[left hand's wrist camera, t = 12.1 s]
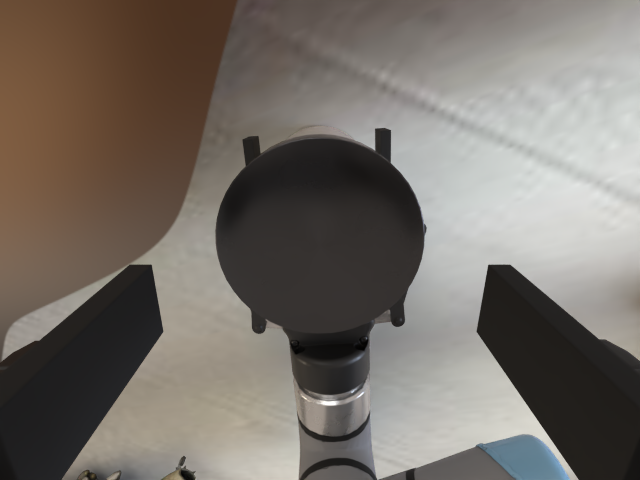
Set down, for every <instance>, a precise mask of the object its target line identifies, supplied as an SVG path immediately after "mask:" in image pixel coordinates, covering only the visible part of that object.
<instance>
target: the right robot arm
mask: <svg viewBox="0 0 640 480" xmlns="http://www.w3.org/2000/svg"><path fill="white" fill-rule="evenodd" d="M243 147H244V155H245V163H246V166H247V165H248V164H249V163H250V162H251V161H253V160H254V159H255V158H256V157H257V156H259V155H260V145H259V137H258V136H252V137H247V138H245V139H243ZM375 151H376V152H377V153H379V154H380V155H381V156H383V157H384V158H385V159H386V160H388V161H389V162H390V163H391V130H389V129H386V128H378V129H375ZM424 232H425V233H426V225H425V224H424ZM407 291H408V289H407ZM407 291H406V292H405V293H404V294H403V296H402V297H401V298H400V299H399V300H398V301H397V302H396V303H395V304H394V305H393V306H392V307H391V308H390V309H389V310H388V311H386V312H385V313H383V314H382V315H380V316H379V317H378V318H376V319H374V320H372V321H370V322H368V323H366V324H364V325H361V326H359V327H356V328H353V329H350V330H346V331H341V332H335V333H323V334H316V333H305V332H299V331H294V330H290V329H287V328H284V327H281V326H279V325H276V324H274V323H272V322H270V321H268V320H266V319H264V318H263V317H261V316H259V315H258V314H257V313H255V312H254V311H253V310H251V312H252V329H253V331H254V332H255V333H258V334H261V333H263V332H264V331H265V328H283V331H284V332H285V333H286V334H287V336H288V338H289V343H290V352H291V362H292V371H293V375H294V390H295V398H296V406H297V415H298V421H299V435H300V466H299V480H377V478H376V473H375V467H374V460H373V454H372V445H371V429H370V374H369V369H370V356H369V334H370V331H371V329H372V328H373V326H374V324H376V323H383V322H392V324H393V325H394V326H396V327H399V326H402V325H403V324H404V322H405V316H404V305H403V303H404V300H405V297H406V294H407ZM379 480H570V479H569V477H568V475H567V474H566V472H565V470H564V469H563V467H562V466H561V464H560V463H559V461H558V460H557V458H556V457H555V455H554V454H553V453H552V451H551V450H550V449H549V448H548V447H547V446H546V444H544V443H543V442H542V441H541V440H540V439H538V438H536V437H534V436H532V435H518V436H514V437H511V438H507V439H503V440H499V441H495V442H491V443H487V444H481V443H480V444H478V445H476V447H474V448H471V449H468V450H466V451H463V452H460V453H457V454H455V455H452V456H449V457H446V458H444V459H441V460H438V461H435V462H432V463H430V464H427V465H424V466H421V467H419V468H413V469H410V470H407V471H404V472H401V473H398V474H395V475H392V476H389V477H385V478H382V479H379Z"/></svg>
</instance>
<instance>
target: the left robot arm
mask: <svg viewBox="0 0 640 480" xmlns="http://www.w3.org/2000/svg"><path fill="white" fill-rule="evenodd" d="M162 333H163V327H162V321H161V316H160V310H159V304H158V298H157V293H156V287H155V281H154V276H153V270H152V265H129V266H128V267H127V268H125V269H124V270H123V271H122V272H121V273H119V274H118V275H117V276H116V277H115V278H113V279H112V280H111V281H110V282H109V283H107V284H106V285H105V286H104V287H103V288H102V289H100V290H99V291H98V292H97V293H96V294H94V295H93V296H92V297H91V298H90V299H88V300H87V301H86V302H85V303H84V304H83V305H81V306H80V307H79V308H78V309H77V310H75V311H74V312H73V313H72V314H71V315H69V316H68V317H67V318H66V319H65V320H63V321H62V322H61V323H60V324H59V325H58V326H56V327H55V328H54V329H53V330H52V331H50V332H49V333H48V334H47V335H46V336H44V337H43V338H42V339H41V340H40V341H34V342H32V343H30V344H28V345H27V346H25V347H23V348H21V349H19V350H17V351H15V352H13V353H12V354H11V355H9V356H8V357H7V358H6V359H5V360H3V361H2V362H1V363H0V480H61V479H62V478H63V476H64V475H65V473H66V472H67V470H68V469H69V468H70V466H71V465H72V463H73V462H74V460H75V459H76V457H77V456H78V455H79V453H80V452H81V450H82V449H83V447H84V446H85V444H86V443H87V442H88V440H89V439H90V437H91V436H92V434H93V433H94V431H95V430H96V428H97V427H98V426H99V424H100V423H101V421H102V420H103V418H104V417H105V415H106V414H107V413H108V411H109V410H110V408H111V407H112V405H113V404H114V402H115V401H116V400H117V398H118V397H119V395H120V394H121V392H122V391H123V389H124V388H125V386H126V385H127V384H128V382H129V381H130V379H131V378H132V376H133V375H134V373H135V372H136V371H137V369H138V368H139V366H140V365H141V363H142V362H143V360H144V359H145V357H146V356H147V355H148V353H149V352H150V350H151V349H152V347H153V346H154V344H155V343H156V342H157V340H158V339H159V337H160V336H161V334H162ZM477 333H478V334H479V336H480V337H481V339H482V340H483V342H484V343H485V344H486V346H487V347H488V349H489V350H490V352H491V353H492V355H493V356H494V357H495V359H496V360H497V362H498V363H499V365H500V366H501V368H502V369H503V371H504V372H505V373H506V375H507V376H508V378H509V379H510V381H511V382H512V384H513V385H514V386H515V388H516V389H517V391H518V392H519V394H520V395H521V397H522V398H523V400H524V401H525V402H526V404H527V405H528V407H529V408H530V410H531V411H532V413H533V414H534V415H535V417H536V418H537V420H538V421H539V423H540V424H541V426H542V427H543V428H544V430H545V431H546V433H547V434H548V436H549V437H550V439H551V440H552V442H553V443H554V444H555V446H556V447H557V449H558V450H559V452H560V453H561V455H562V456H563V457H564V459H565V460H566V462H567V463H568V465H569V466H570V468H571V469H572V470H573V472H574V473H575V475H576V476H577V478H578V479H579V480H640V361H639V360H638V359H636V358H635V357H634V356H633V355H631V354H630V353H629V352H628V351H626V350H624V349H622V348H620V347H618V346H616V345H614V344H613V343H611V342H609V341H607V340H599V339H598V338H597V337H596V336H594V335H593V334H592V333H591V332H590V331H588V330H587V329H586V328H585V327H584V326H582V325H581V324H580V323H579V322H578V321H577V320H575V319H574V318H573V317H572V316H571V315H569V314H568V313H567V312H566V311H565V310H563V309H562V308H561V307H560V306H559V305H557V304H556V303H555V302H554V301H553V300H552V299H550V298H549V297H548V296H547V295H546V294H544V293H543V292H542V291H541V290H540V289H538V288H537V287H536V286H535V285H534V284H533V283H531V282H530V281H529V280H528V279H527V278H525V277H524V276H523V275H522V274H521V273H519V272H518V271H517V270H516V269H515V268H513V267H512V266H511V265H488V270H487V276H486V281H485V287H484V293H483V298H482V304H481V310H480V316H479V321H478V327H477Z"/></svg>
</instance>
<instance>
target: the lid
mask: <svg viewBox="0 0 640 480" xmlns="http://www.w3.org/2000/svg"><path fill="white" fill-rule="evenodd" d="M424 237H425V232H424V221H423V217H422V212H421V208H420V205H419V203H418V200H417V198H416V195H415V194H414V192H413V190H412V188H411V187H410V185H409V183H408V182H407V181H406V179H405V178H404V177H403V175H402V174H401V173H400V172H399V171H398V170H397V169H396V168H395V167H394V166H393V165H392V164H391V163H390V162H389V161H388V160H386V159H385V158H384V157H383V156H381V155H380V154H379V153H377V152H376V151H374V150H373V149H372V148H370V147H368V146H366V145H364V144H362V143H360V142H357V141H355V140H352V139H349V138H346V137H341V136H337V135H327V134H312V135H304V136H299V137H294V138H291V139H288V140H285V141H282V142H280V143H278V144H276V145H274V146H272V147H270V148H269V149H267V150H266V151H264V152H263V153H261V154H260V155H259V156H257V157H256V158H255V159H254V160H253V161H251V162H250V163H249V164H248V165H247V166H246V167H245V168H244V169H243V170H242V171H241V172H240V173H239V174H238V176H237V177H236V178H235V179H234V180H233V182H232V183H231V185H230V187H229V188H228V190H227V192H226V194H225V196H224V198H223V201H222V203H221V205H220V209H219V213H218V216H217V223H216V248H217V255H218V259H219V262H220V265H221V268H222V271H223V273H224V275H225V277H226V279H227V281H228V283H229V284H230V286H231V288H232V289H233V291H234V292H235V293H236V294H237V296H238V297H239V298H240V299H241V300H242V301H243V302H244V303H245V304H246V305H247V306H248V307H249V308H250V309H251V310H253V311H254V312H255V313H257V314H258V315H259V316H261V317H263V318H264V319H266V320H268V321H270V322H272V323H274V324H276V325H279V326H281V327H284V328H287V329H290V330H294V331H299V332H305V333H316V334H323V333H335V332H341V331H346V330H350V329H353V328H356V327H359V326H361V325H364V324H366V323H368V322H370V321H372V320H374V319H376V318H378V317H379V316H380V315H382V314H383V313H385V312H386V311H388V310H389V309H390V308H391V307H392V306H393V305H394V304H395V303H396V302H397V301H398V300H399V299H400V298H401V297H402V296H403V294H404V293H405V292H406V291H407V289H408V288H409V286H410V285H411V283H412V281H413V279H414V277H415V275H416V273H417V271H418V268H419V265H420V262H421V259H422V254H423V249H424Z"/></svg>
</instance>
